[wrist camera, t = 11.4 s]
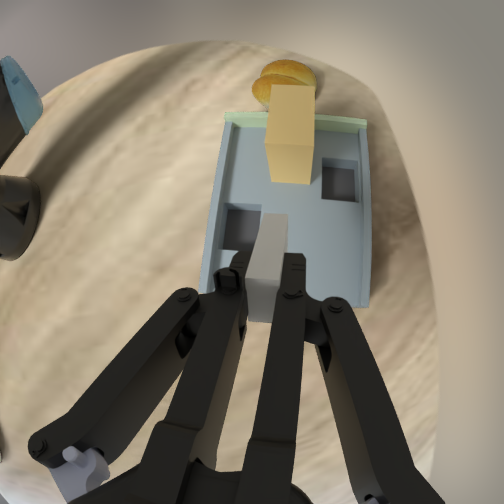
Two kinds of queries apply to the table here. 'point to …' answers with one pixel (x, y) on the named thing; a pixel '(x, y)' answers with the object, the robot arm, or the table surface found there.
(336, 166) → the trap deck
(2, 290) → the table surface
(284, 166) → the ochre block
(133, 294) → the table surface
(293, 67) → the bread roll
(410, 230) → the table surface
